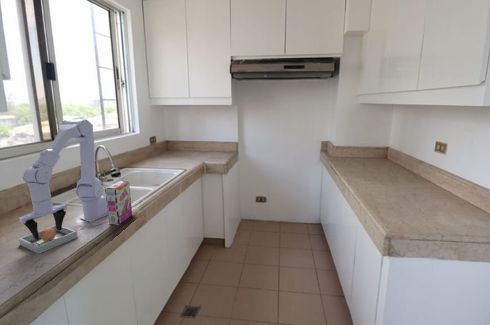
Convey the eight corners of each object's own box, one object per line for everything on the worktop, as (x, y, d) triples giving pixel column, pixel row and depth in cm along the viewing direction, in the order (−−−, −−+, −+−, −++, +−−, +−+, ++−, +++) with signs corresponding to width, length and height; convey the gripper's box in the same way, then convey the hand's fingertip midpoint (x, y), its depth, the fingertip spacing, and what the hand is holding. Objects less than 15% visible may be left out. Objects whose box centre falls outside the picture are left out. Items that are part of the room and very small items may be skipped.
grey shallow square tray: (58, 230, 109) (57, 224, 109) (77, 237, 103) (76, 231, 103) (20, 244, 98) (18, 238, 98) (38, 253, 92) (37, 247, 91)
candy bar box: (119, 225, 113) (115, 188, 109) (108, 225, 113) (103, 188, 110) (133, 215, 124) (129, 180, 120) (123, 214, 124) (119, 180, 121)
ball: (53, 236, 104) (51, 224, 103) (59, 239, 102) (57, 227, 101) (38, 241, 100) (36, 229, 99) (44, 245, 97) (42, 232, 96)
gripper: (57, 192, 105) (62, 224, 108) (12, 204, 93) (19, 240, 96) (67, 194, 102) (72, 227, 105) (22, 207, 90) (29, 244, 92)
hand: (48, 233), depth 100 cm, fingers open, 7 cm apart
